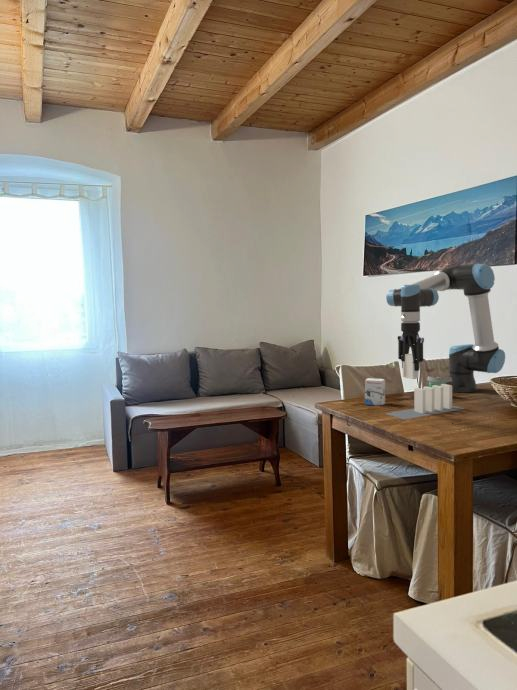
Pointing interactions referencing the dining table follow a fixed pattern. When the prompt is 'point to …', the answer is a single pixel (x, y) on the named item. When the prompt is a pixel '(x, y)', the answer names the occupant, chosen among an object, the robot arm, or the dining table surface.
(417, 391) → the domino
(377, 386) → the ink box
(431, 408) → the domino
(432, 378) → the food container
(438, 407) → the domino
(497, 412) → the dining table surface
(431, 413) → the mat
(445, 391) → the domino
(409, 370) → the domino
